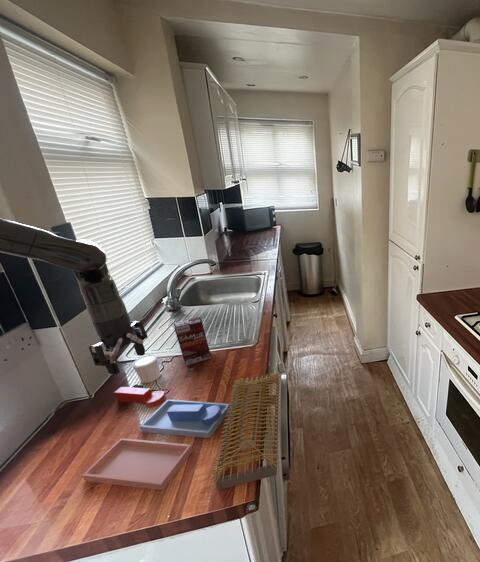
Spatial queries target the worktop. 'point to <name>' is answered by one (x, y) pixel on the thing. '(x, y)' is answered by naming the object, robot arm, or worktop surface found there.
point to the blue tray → (164, 425)
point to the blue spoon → (194, 413)
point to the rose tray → (139, 464)
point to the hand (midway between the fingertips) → (129, 363)
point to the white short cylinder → (147, 368)
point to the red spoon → (140, 396)
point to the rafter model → (243, 406)
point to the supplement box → (192, 340)
